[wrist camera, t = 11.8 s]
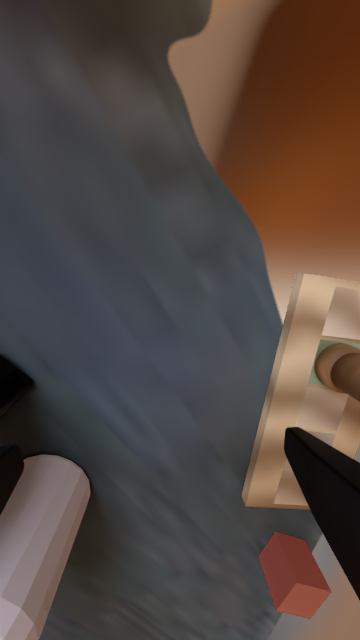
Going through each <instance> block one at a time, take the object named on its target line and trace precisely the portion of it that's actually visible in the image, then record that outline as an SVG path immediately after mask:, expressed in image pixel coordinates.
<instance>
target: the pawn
mask: <svg viewBox="0 0 360 640" xmlns="http://www.w3.org/2000/svg"><path fill="white" fill-rule="evenodd" d="M314 370H315V374H316V377H317V378H318V379H319V381H321V382H322V383H324V384H325V385H326V386H328V387H329V388H331V389H332V390H334V391H335V392H338V393H343V394H348V395H349V396H351V397H353V398H354V399H356V400H357V401H359V402H360V349H358V348H356V347H353V346H350V345H348V344H344V343H337V344H333V345H330V346H328V347H326V348H325V349H324V350H323V351H322V352H321V353H320V354H319V355H318V357H317V359H316V361H315V366H314Z"/></svg>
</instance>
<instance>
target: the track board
mask: <svg viewBox="0 0 360 640" xmlns="http://www.w3.org/2000/svg"><path fill="white" fill-rule="evenodd" d="M337 343H344V344H348V345H350V346H353V347H356V348H358V349H360V282H357V281H351V280H344V279H338V278H331V277H325V276H318V275H312V274H303V273H301V274H296V275H295V279H294V283H293V287H292V292H291V296H290V300H289V304H288V308H287V312H286V317H285V320H284V324H283V328H282V332H281V336H280V341H279V345H278V349H277V353H276V357H275V361H274V365H273V369H272V373H271V377H270V381H269V385H268V389H267V394H266V398H265V402H264V406H263V410H262V414H261V418H260V422H259V426H258V430H257V434H256V438H255V442H254V447H253V451H252V455H251V459H250V463H249V467H248V471H247V475H246V479H245V483H244V487H243V491H242V498H243V501H244V504H245V506H246V507H266V508H287V509H308V510H310V508H309V506H308V504H307V502H306V500H305V498H304V495H303V493H302V491H301V489H300V486H299V484H298V482H297V480H296V477H295V475H294V473H293V471H292V469H291V466H290V464H289V462H288V460H287V457H286V455H285V452H284V439H285V430H286V428H288V427H300V428H302V429H303V430H305V431H307V432H308V433H310V434H312V435H314V436H315V437H317V438H319V439H320V440H322V441H324V442H325V443H327V444H329V445H330V446H332V447H334V448H335V449H337V450H339V451H340V452H342V453H344V454H346V455H347V456H349V457H351V458H352V459H354V457H355V455H356V452H357V449H358V446H359V443H360V402H359V401H357V400H356V399H354V398H353V397H351V396H349V395H348V394H343V393H338V392H335V391H334V390H332V389H331V388H329V387H328V386H326V385H325V384H324V383H322V382H321V381H319V379H318V378H317V377H316V374H315V370H314V366H315V361H316V359H317V357H318V355H319V354H320V353H321V352H322V351H323V350H324V349H325V348H326V347H328V346H330V345H333V344H337Z"/></svg>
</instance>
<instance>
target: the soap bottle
mask: <svg viewBox="0 0 360 640" xmlns="http://www.w3.org/2000/svg"><path fill="white" fill-rule="evenodd" d="M89 497H90V485H89V479H88V478H87V476H86V475H85V473H84V471H83V470H82V469H81V468H80V467H79V466H77V465H76V464H75V463H74V462H72V461H71V460H68V459H65V458H63V457H60V456H56V455H44V454H42V455H37V456H32V457H28V458H26V459H24V470H23V473H22V475H21V477H20V479H19V481H18V483H17V485H16V486H15V488H14V490H13V492H12V494H11V496H10V498H9V500H8V502H7V504H6V506H5V508H4V510H3V511H2V513H1V515H0V640H39V638H40V635H41V633H42V630H43V627H44V624H45V621H46V619H47V616H48V613H49V610H50V607H51V605H52V602H53V599H54V596H55V593H56V591H57V588H58V585H59V582H60V579H61V577H62V574H63V571H64V568H65V565H66V563H67V560H68V557H69V554H70V551H71V549H72V546H73V543H74V540H75V537H76V535H77V532H78V529H79V526H80V523H81V521H82V518H83V515H84V512H85V509H86V507H87V504H88V500H89Z"/></svg>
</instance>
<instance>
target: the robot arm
mask: <svg viewBox="0 0 360 640" xmlns="http://www.w3.org/2000/svg"><path fill="white" fill-rule="evenodd" d="M24 382H26V383H27V384H25V383H24ZM31 385H32V380H31V379H30V378H29V377H28V376H26V375H25V374H24V373H22V372H21V371H19V370H18V369H17V368H15V367H14V366H13V365H11V364H10V363H9V362H7V361H6V360H5V359H3V358H2V357H1V356H0V418H1V417H2V416H3V415H4V414H5V413H6V412H7V411H8V410H9V409H10V408H11V406H12V405H13V404H14V403H15V402H16V401H17V400H18V399H19V398H20V397H21V396H22V395H23V394H24V393H25V391H26V390H27V389H28V388H29V387H30V386H31ZM284 452H285V455H286V457H287V460H288V462H289V464H290V466H291V469H292V471H293V473H294V475H295V477H296V480H297V482H298V484H299V486H300V489H301V491H302V493H303V495H304V498H305V500H306V502H307V504H308V506H309V508H310V510H311V512H312V514H313V516H314V518H315V520H316V521H317V523H318V525H319V527H320V529H321V531H322V532H323V534H324V536H325V538H326V539H327V542H328V543H329V545H330V547H331V549H332V551H333V552H334V554H335V556H336V558H337V560H338V562H339V563H340V565H341V567H342V569H343V570H344V573H345V574H346V576H347V578H348V580H349V582H350V583H351V585H352V587H353V589H354V591H355V592H356V594H357V596H358V598H359V600H360V463H359V462H357V461H356V460H354V459H352V458H351V457H349V456H347V455H346V454H344V453H342V452H340V451H339V450H337V449H335V448H334V447H332V446H330V445H329V444H327V443H325V442H324V441H322V440H320V439H319V438H317V437H315V436H314V435H312V434H310V433H308V432H307V431H305V430H303V429H302V428H300V427H288V428H286V430H285V439H284ZM23 470H24V460H23V456H22V452H21V448H20V446H19V445H17V444H12V445H4V446H2V447H0V515H1V513H2V511H3V510H4V508H5V506H6V504H7V502H8V500H9V498H10V496H11V494H12V492H13V490H14V488H15V486H16V485H17V483H18V481H19V479H20V477H21V475H22V473H23Z"/></svg>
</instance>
